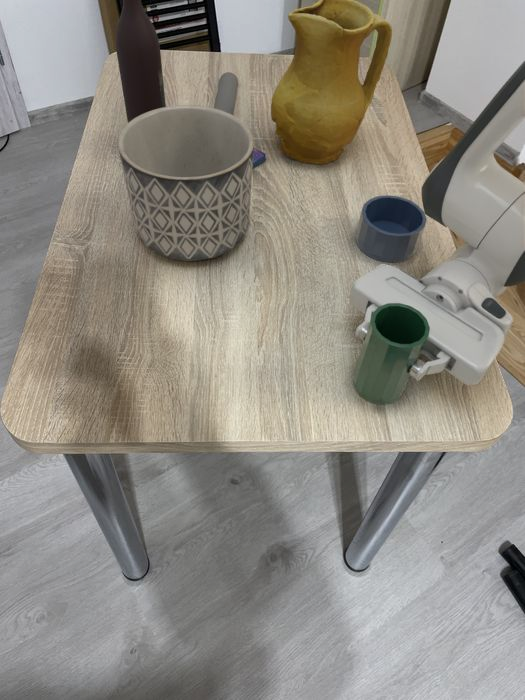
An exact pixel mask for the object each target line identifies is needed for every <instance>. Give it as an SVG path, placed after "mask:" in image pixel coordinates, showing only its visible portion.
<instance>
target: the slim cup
mask: <svg viewBox="0 0 525 700" xmlns="http://www.w3.org/2000/svg"><path fill="white" fill-rule="evenodd" d="M429 331H430V327H429V324H428V321H427V319H426V318H425V317H424V316H423V314H422V313H421V312H420V311H418V310H416V309H415V308H413V307H411V306H409V305H405V304H401V303H388V304H385V305H382V306H379V307H378V308H377V309H376V310H375V311H374V312H373V313H372V316H371V319H370V323H369V326H368V329H367V333H366V336H365V339H364V341H362V346H361V348H360V353H359V355H358V359H357V362H356V365H355V368H354V372H353V375H352V385H353V387H354V389H355V391H356V393H357V394H358V395H359V396H360V397H361V398H362V399H363V400H366V401H367V402H369V403H371V404H375V405H389V404H392V403H395V402H397V400H399V399H400V398H401V397H402V395H403V393H405V390H406V388H407V386H408V383H409V381H410V379H411V376H410V375H409V374H408V373H409V372H410V369H411V367H412V366H413V365H414V364H416V362H417V361H418V360H419V359H420V356H421V354H422V353H421V352H422V350H423V348H424V345H425V343H426V341H427V339H428V336H429Z"/></svg>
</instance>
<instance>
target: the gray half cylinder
mask: <svg viewBox="0 0 525 700" xmlns="http://www.w3.org/2000/svg"><path fill="white" fill-rule="evenodd" d="M238 85H239V79H238V77H237V75H236V74H235V73H233V72H229V71H226V72H224V73H222V74H221V76H220V77H219V80H218V86H217V90H216V91H217V92H216V96H215V102H214V105H213V108H214V109H218V110H221V111H224V112H227V113H229V114H231V115H233V116H234V114H235V113H234V112H235V105H236V99H237V92H238Z"/></svg>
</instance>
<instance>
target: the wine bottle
mask: <svg viewBox="0 0 525 700" xmlns="http://www.w3.org/2000/svg"><path fill="white" fill-rule="evenodd" d="M114 40H115V41H114V42H115V49H116V57H117V64H118V69H119V75H120V83H121V88H122V89H121V90H122V94H123V101H124V108H125V112H126V113H125V115H126V120H127V124H128V123H129V122H130V121H131V120H133V119H134V118H136V117H138V116H139V115H141V114H144V113H146V112H149V111H152V110H155V109H159V108H163V107H167V105H166V104H167V103H166V95H165V94H166V93H165V84H164V83H165V82H164V75H163V64H162V53H161V47H160V46H161V45H160V39H159V37H158V33H157V31H156V28H155V26H154V24H153V22H152V21H151V19H150V17H149V16H148V14H147V13H146V10H145V8H144V6H143V4H142V0H122V8H121V12H120V16H119V19H118V21H117V25H116V29H115V39H114Z"/></svg>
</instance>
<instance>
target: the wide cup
mask: <svg viewBox="0 0 525 700" xmlns="http://www.w3.org/2000/svg"><path fill="white" fill-rule="evenodd" d="M427 221H428V220H427V215H426V214H425V212H424V209H422V208H421V207H420V206H419V205H418V204H417V203H415V202H414V201H412V200H410V199H408V198H404V197H401V196H399V195H398V196H397V195H390V194H388V195H387V194H386V195H377V196H375V197H371V198H369V199H368V200H367V201H366V202H365V203H364V204H363V206H362V208H361V211H360V215H359V220H358V224H357V229H356V232H355V242H356V244H357V247H358V248H359V249H360V251H361V252H363V253H364V254H365V255H367V256H368V257H369V258H371V259H373V260H376V261H379V262H383V263H401V262H404V261H407V260H409V259H411V258H412V257H413V256H414V255H415V254H416V252H417V250H418V247H419V244H420V242H421V239H422V237H423V233H424V231H425V228H426V224H427Z"/></svg>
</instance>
